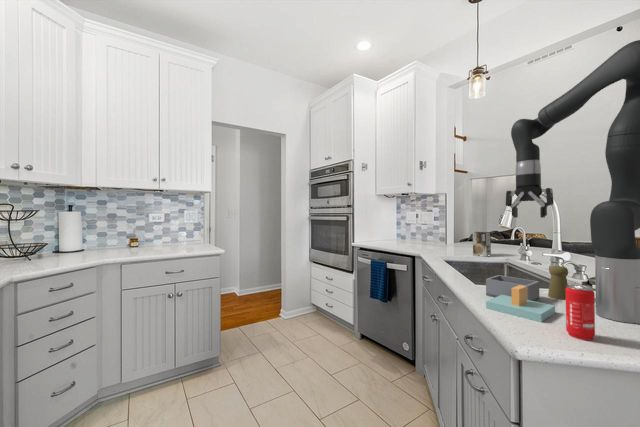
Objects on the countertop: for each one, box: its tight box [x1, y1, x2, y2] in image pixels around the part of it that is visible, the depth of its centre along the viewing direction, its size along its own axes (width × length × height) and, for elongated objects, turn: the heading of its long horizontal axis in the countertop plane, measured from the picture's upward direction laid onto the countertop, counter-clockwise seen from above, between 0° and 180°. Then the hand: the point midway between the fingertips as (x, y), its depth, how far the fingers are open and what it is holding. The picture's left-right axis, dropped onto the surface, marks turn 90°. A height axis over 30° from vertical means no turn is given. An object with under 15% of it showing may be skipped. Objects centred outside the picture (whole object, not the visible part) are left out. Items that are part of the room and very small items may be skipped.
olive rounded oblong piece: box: [547, 265, 569, 301], centre depth 99 cm, size 6×6×11 cm
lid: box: [485, 285, 556, 323], centre depth 87 cm, size 14×11×7 cm
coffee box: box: [472, 231, 492, 257], centre depth 190 cm, size 9×6×16 cm
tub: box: [485, 274, 540, 302], centre depth 100 cm, size 13×10×6 cm
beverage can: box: [565, 284, 596, 341], centre depth 69 cm, size 5×5×12 cm
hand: (528, 217), depth 104 cm, fingers open, 8 cm apart
